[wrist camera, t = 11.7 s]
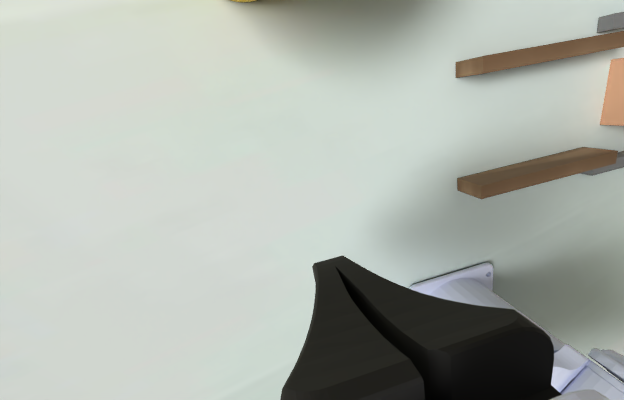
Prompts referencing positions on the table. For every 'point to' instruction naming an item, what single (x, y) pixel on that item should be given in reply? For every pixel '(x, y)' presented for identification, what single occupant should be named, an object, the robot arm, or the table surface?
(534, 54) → the walled channel
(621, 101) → the terracotta block
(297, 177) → the table surface
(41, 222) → the table surface
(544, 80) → the table surface
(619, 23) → the frame
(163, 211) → the table surface
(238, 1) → the plant pot
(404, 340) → the robot arm
